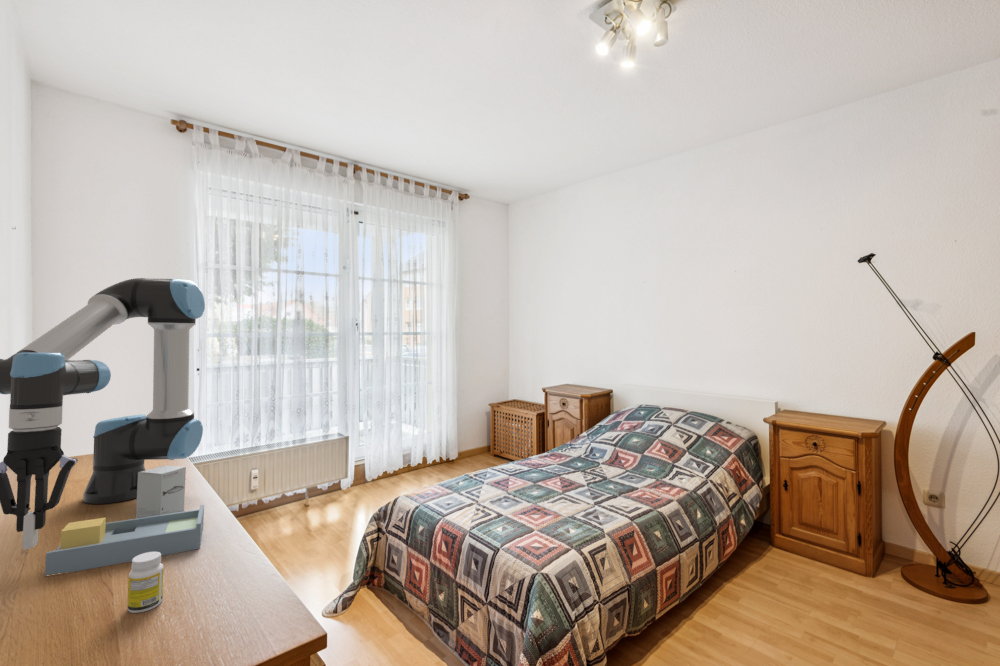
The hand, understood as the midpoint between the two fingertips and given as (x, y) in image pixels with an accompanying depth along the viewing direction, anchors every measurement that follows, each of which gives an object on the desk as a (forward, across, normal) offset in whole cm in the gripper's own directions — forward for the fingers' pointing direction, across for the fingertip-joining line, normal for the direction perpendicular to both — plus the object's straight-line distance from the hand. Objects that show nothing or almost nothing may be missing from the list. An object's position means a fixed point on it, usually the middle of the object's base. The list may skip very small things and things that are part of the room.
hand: (30, 545), depth 89 cm
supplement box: (+4, +19, +19) cm, 27 cm away
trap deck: (+4, +16, 0) cm, 17 cm away
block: (+1, +8, 0) cm, 8 cm away
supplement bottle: (+4, +22, -28) cm, 36 cm away
